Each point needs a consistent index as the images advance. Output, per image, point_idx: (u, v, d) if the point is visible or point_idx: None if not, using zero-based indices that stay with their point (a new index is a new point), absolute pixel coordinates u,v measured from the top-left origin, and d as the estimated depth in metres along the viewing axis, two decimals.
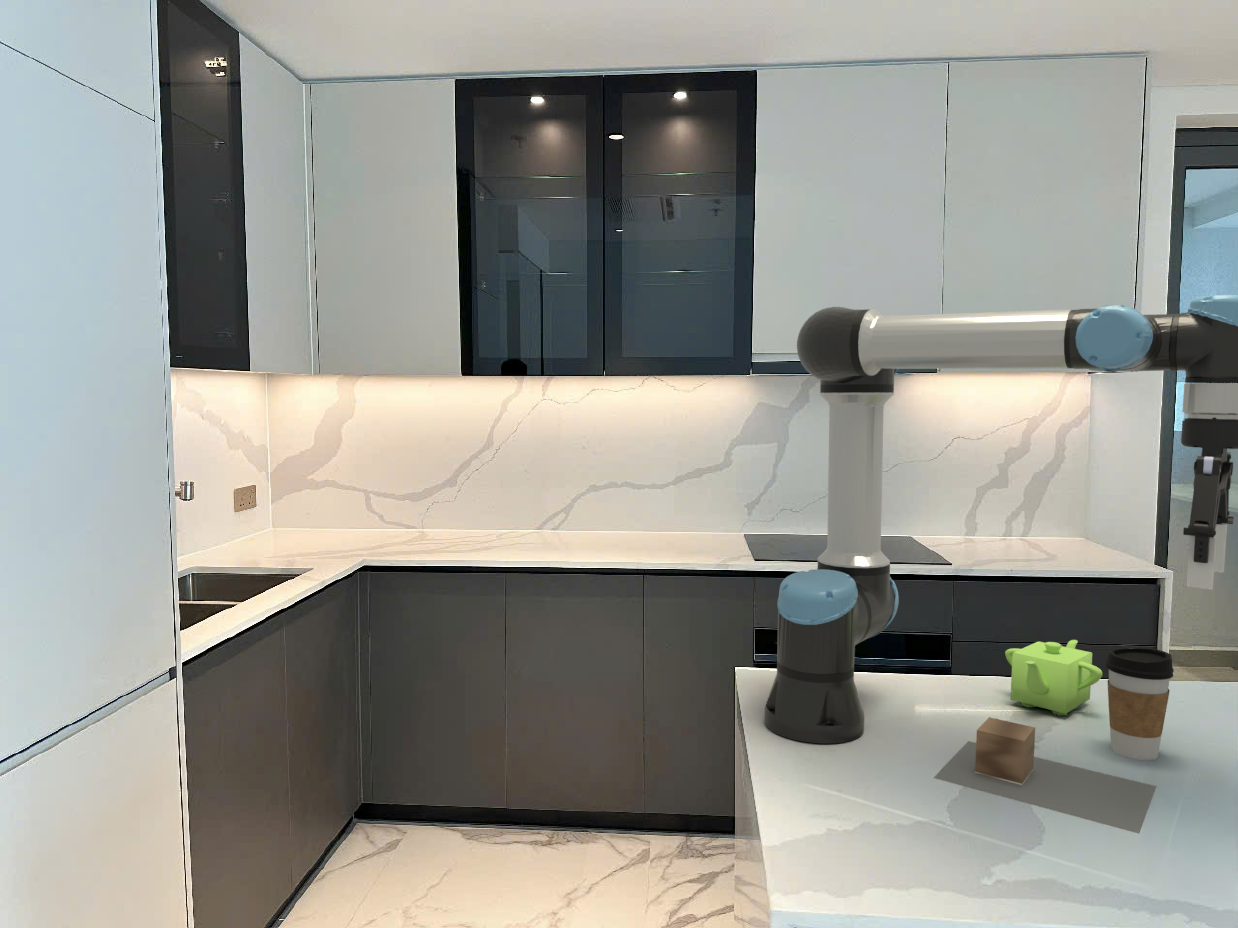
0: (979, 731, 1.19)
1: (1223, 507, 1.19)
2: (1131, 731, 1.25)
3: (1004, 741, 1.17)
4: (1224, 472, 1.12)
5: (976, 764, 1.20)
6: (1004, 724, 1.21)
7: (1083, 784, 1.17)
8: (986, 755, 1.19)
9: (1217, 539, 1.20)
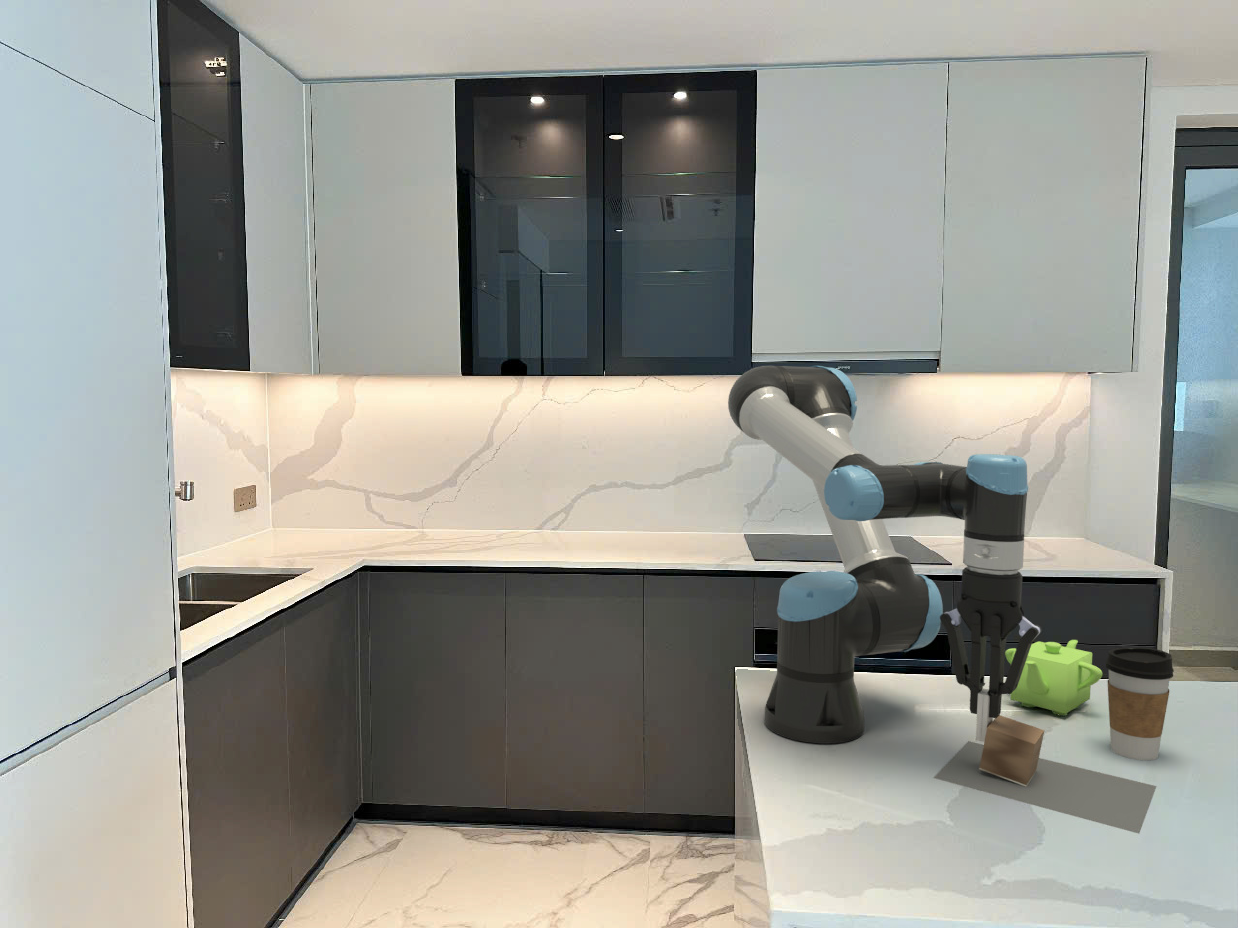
0: (989, 729, 1.18)
1: None
2: (1131, 731, 1.25)
3: (1013, 742, 1.16)
4: (972, 623, 1.20)
5: (981, 761, 1.19)
6: (1014, 724, 1.21)
7: (1083, 784, 1.17)
8: (993, 753, 1.18)
9: None
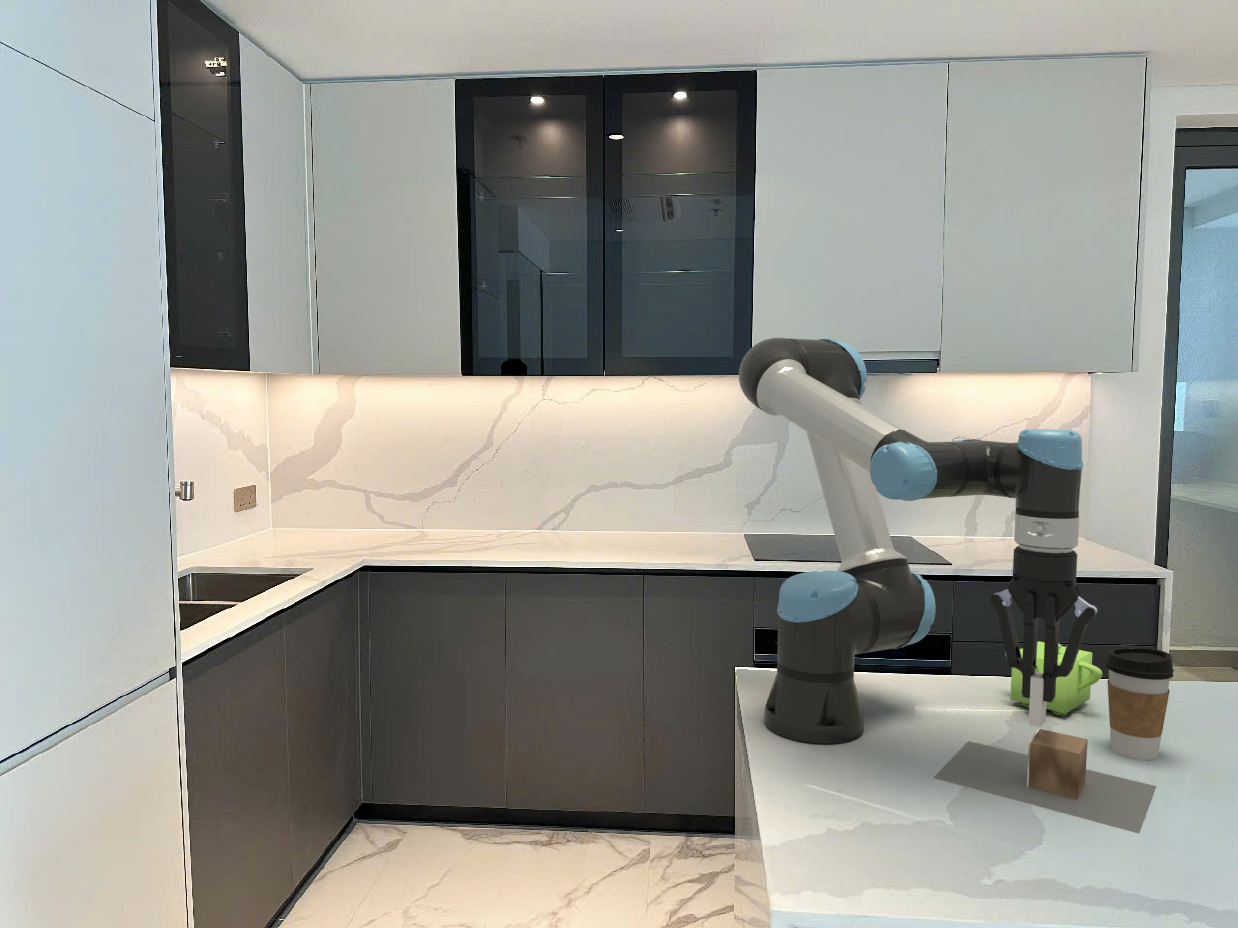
0: (1078, 756, 1.12)
1: None
2: (1131, 731, 1.25)
3: (1072, 779, 1.13)
4: None
5: (1038, 745, 1.15)
6: (1084, 760, 1.16)
7: None
8: (1051, 757, 1.14)
9: None
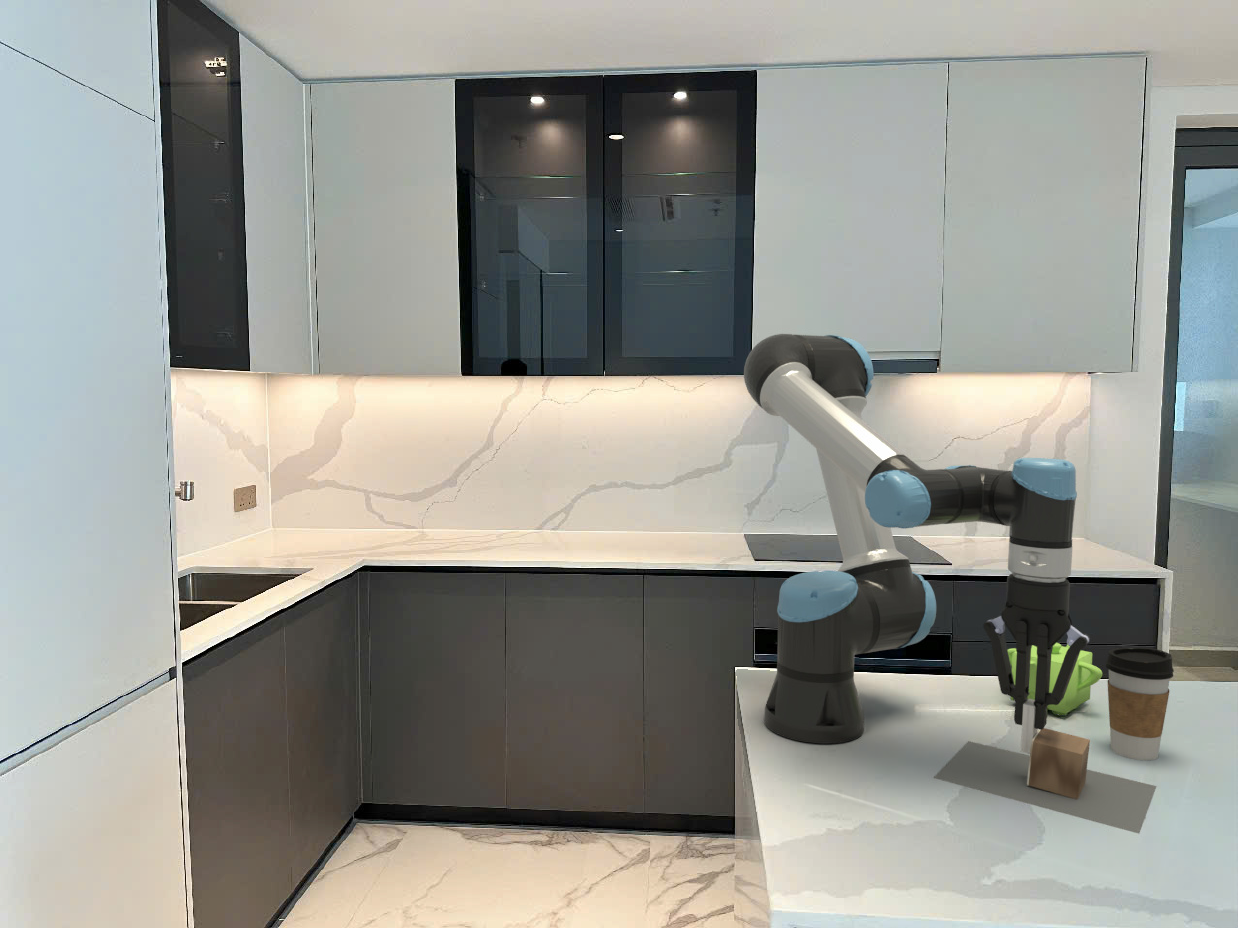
0: (1081, 756, 1.12)
1: None
2: (1131, 731, 1.25)
3: (1073, 779, 1.13)
4: None
5: (1041, 744, 1.14)
6: (1086, 760, 1.16)
7: None
8: (1053, 757, 1.14)
9: None
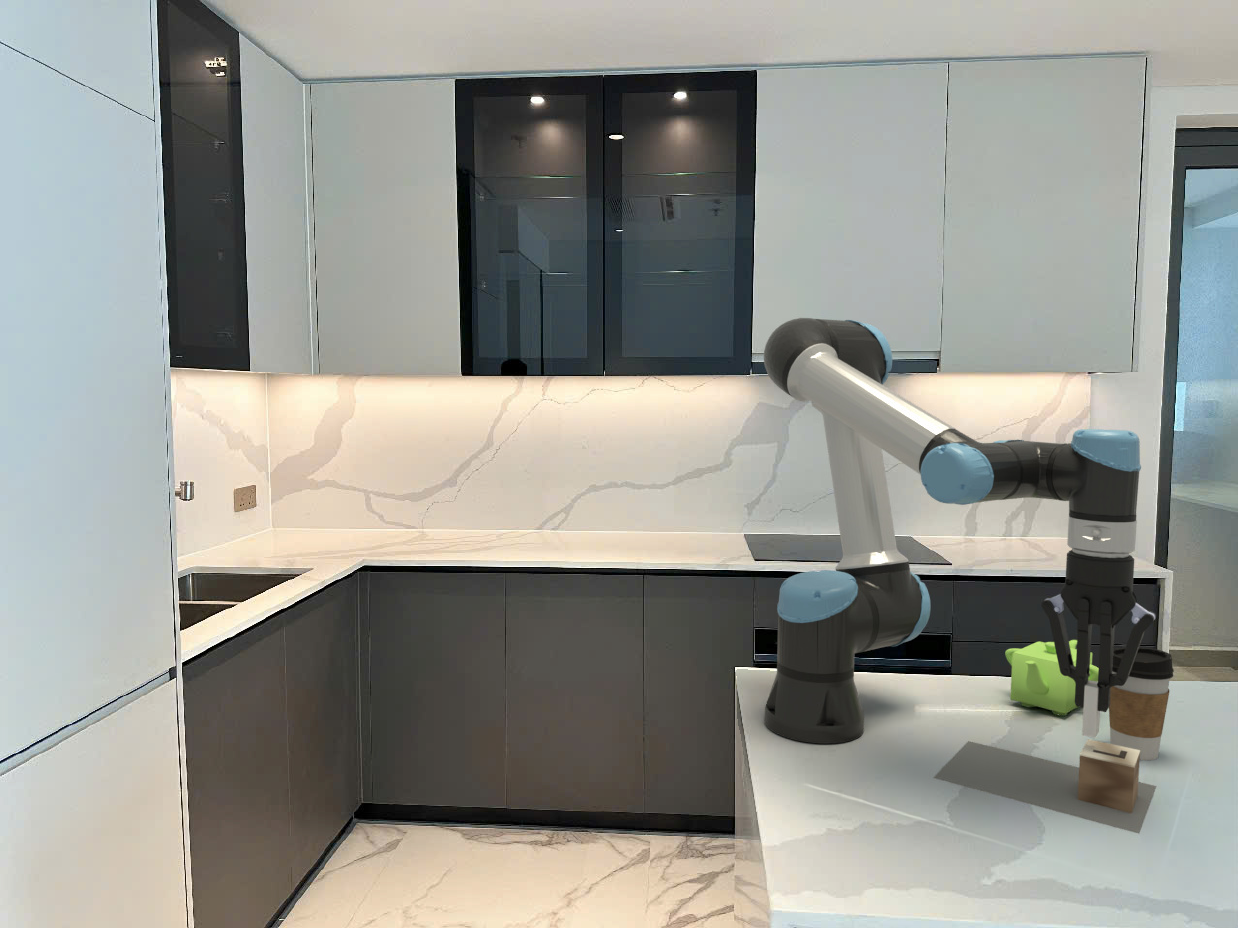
0: (1128, 811, 1.09)
1: None
2: (1131, 731, 1.25)
3: (1099, 799, 1.11)
4: None
5: (1132, 775, 1.08)
6: None
7: None
8: (1120, 785, 1.09)
9: None
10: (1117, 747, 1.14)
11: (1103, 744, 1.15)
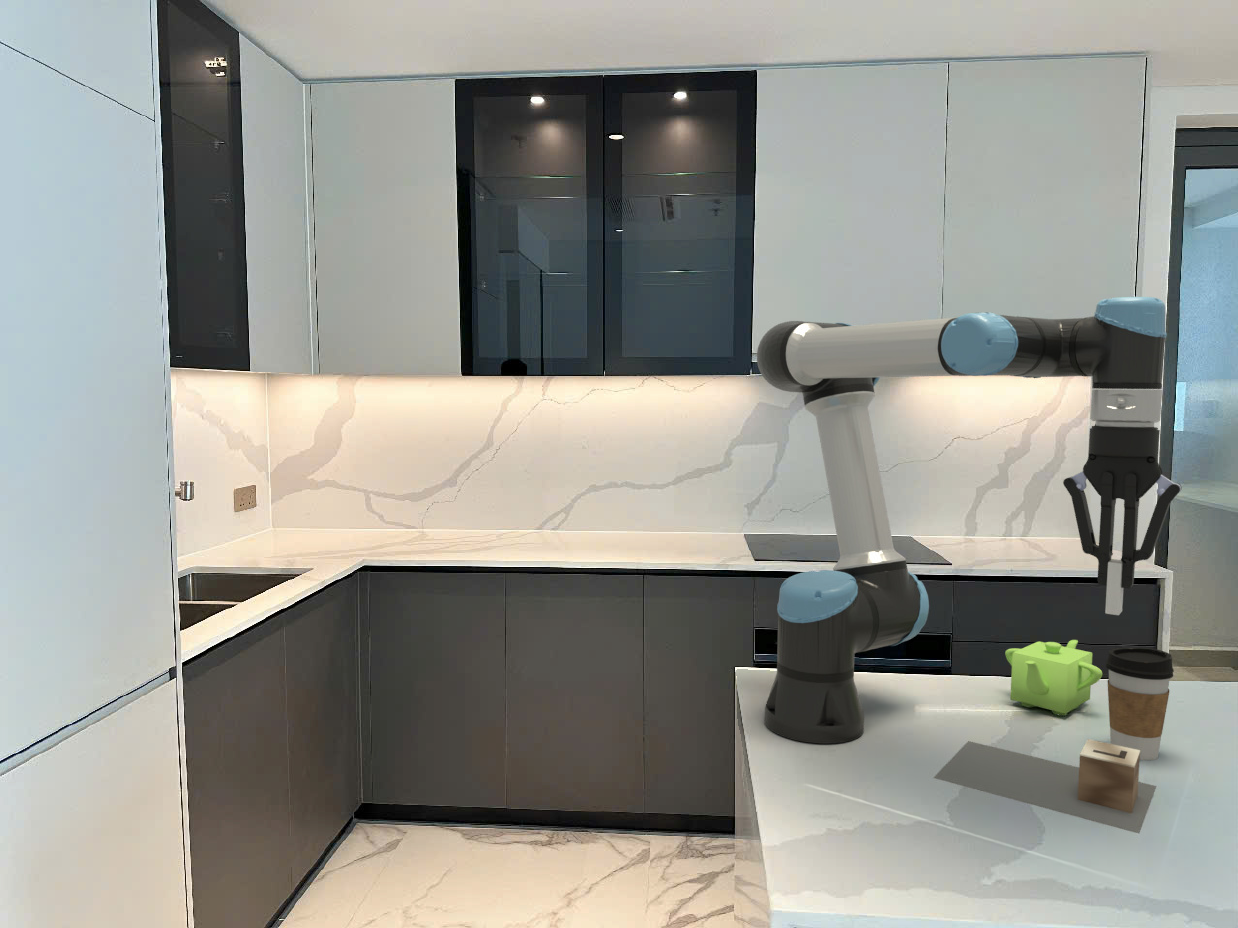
0: (1128, 811, 1.09)
1: (1123, 534, 1.09)
2: (1131, 731, 1.25)
3: (1099, 799, 1.11)
4: None
5: (1132, 775, 1.08)
6: None
7: None
8: (1120, 785, 1.09)
9: None
10: (1117, 747, 1.14)
11: (1103, 744, 1.15)
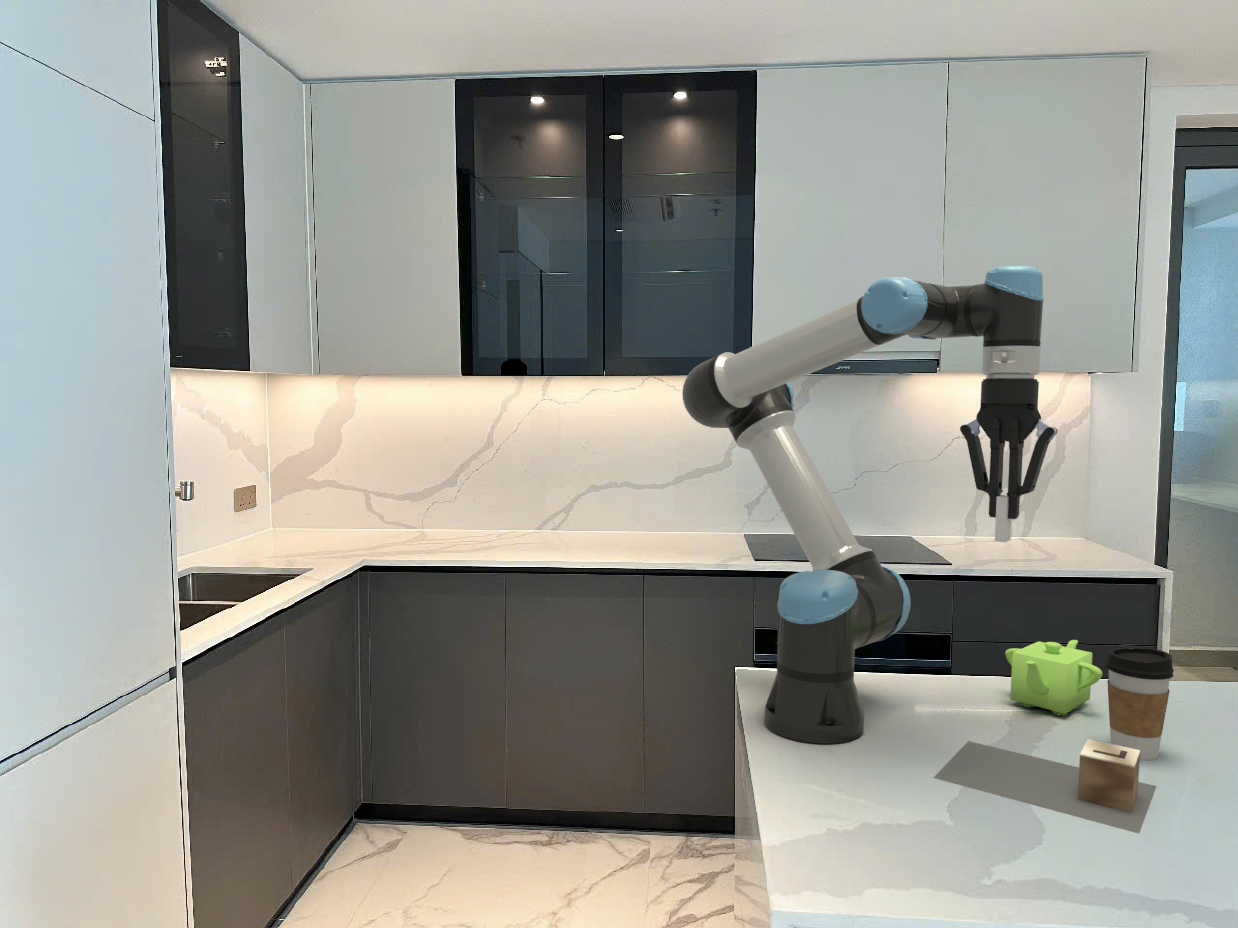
0: (1128, 811, 1.09)
1: None
2: (1131, 731, 1.25)
3: (1099, 799, 1.11)
4: (991, 430, 1.27)
5: (1132, 775, 1.08)
6: None
7: None
8: (1120, 785, 1.09)
9: None
10: (1117, 747, 1.14)
11: (1103, 744, 1.15)
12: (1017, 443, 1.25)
